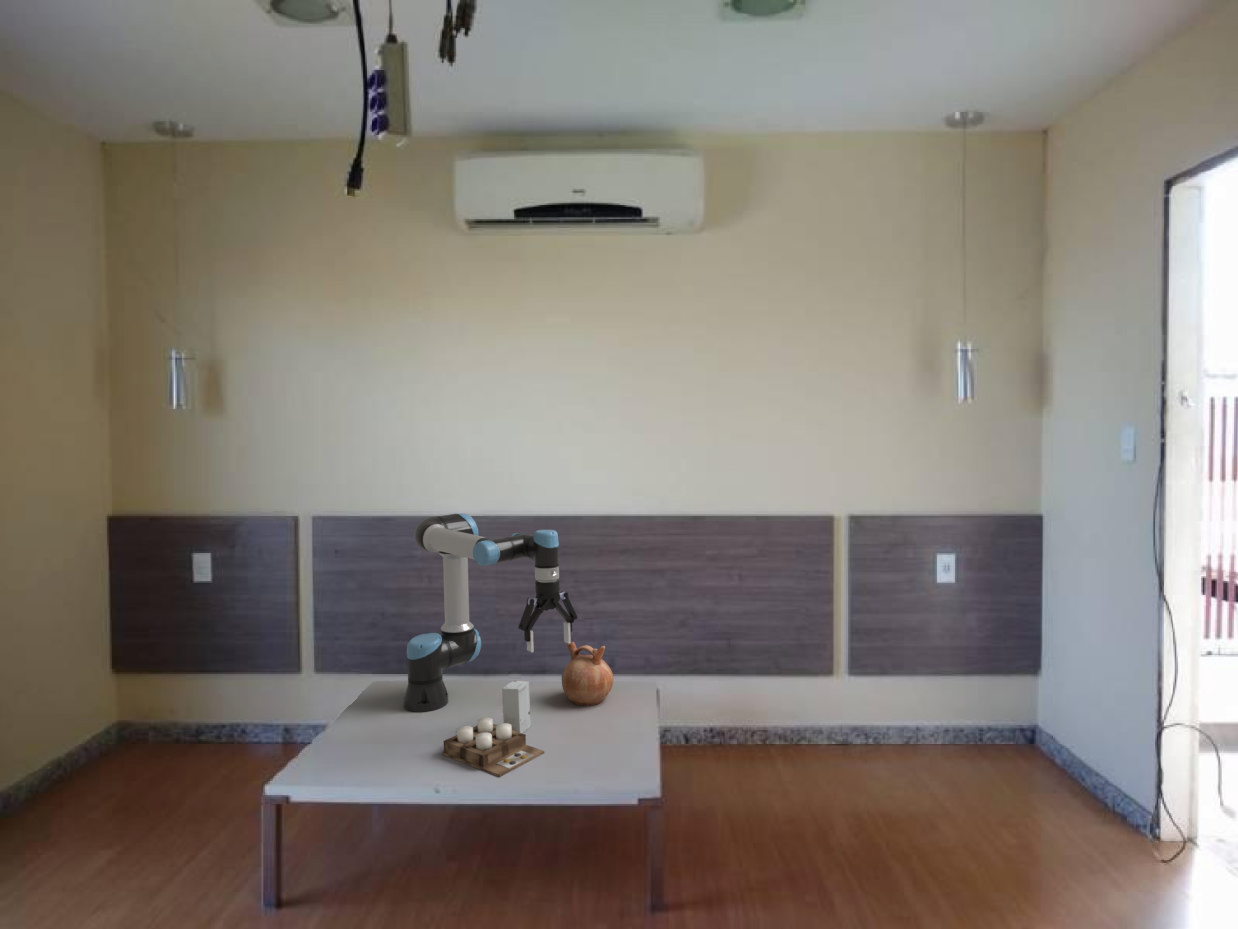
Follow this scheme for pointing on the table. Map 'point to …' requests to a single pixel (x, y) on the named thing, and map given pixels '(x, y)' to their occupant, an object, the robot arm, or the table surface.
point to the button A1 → (465, 734)
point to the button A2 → (485, 725)
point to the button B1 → (483, 741)
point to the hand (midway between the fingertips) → (549, 647)
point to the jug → (586, 676)
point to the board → (492, 753)
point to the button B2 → (503, 731)
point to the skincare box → (516, 705)
